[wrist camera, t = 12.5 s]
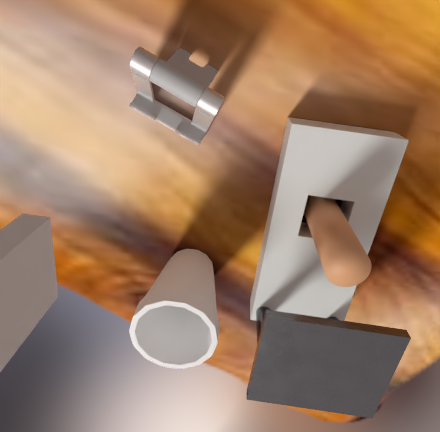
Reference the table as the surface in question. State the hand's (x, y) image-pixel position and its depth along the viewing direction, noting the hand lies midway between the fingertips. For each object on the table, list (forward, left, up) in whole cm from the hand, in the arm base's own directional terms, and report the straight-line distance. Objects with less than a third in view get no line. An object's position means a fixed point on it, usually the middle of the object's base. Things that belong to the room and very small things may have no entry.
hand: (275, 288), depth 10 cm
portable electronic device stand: (-1, -8, -33) cm, 34 cm away
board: (+13, +10, -33) cm, 36 cm away
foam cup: (+22, -5, -33) cm, 40 cm away
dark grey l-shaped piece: (+21, +10, -29) cm, 36 cm away
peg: (+10, +10, -33) cm, 35 cm away
